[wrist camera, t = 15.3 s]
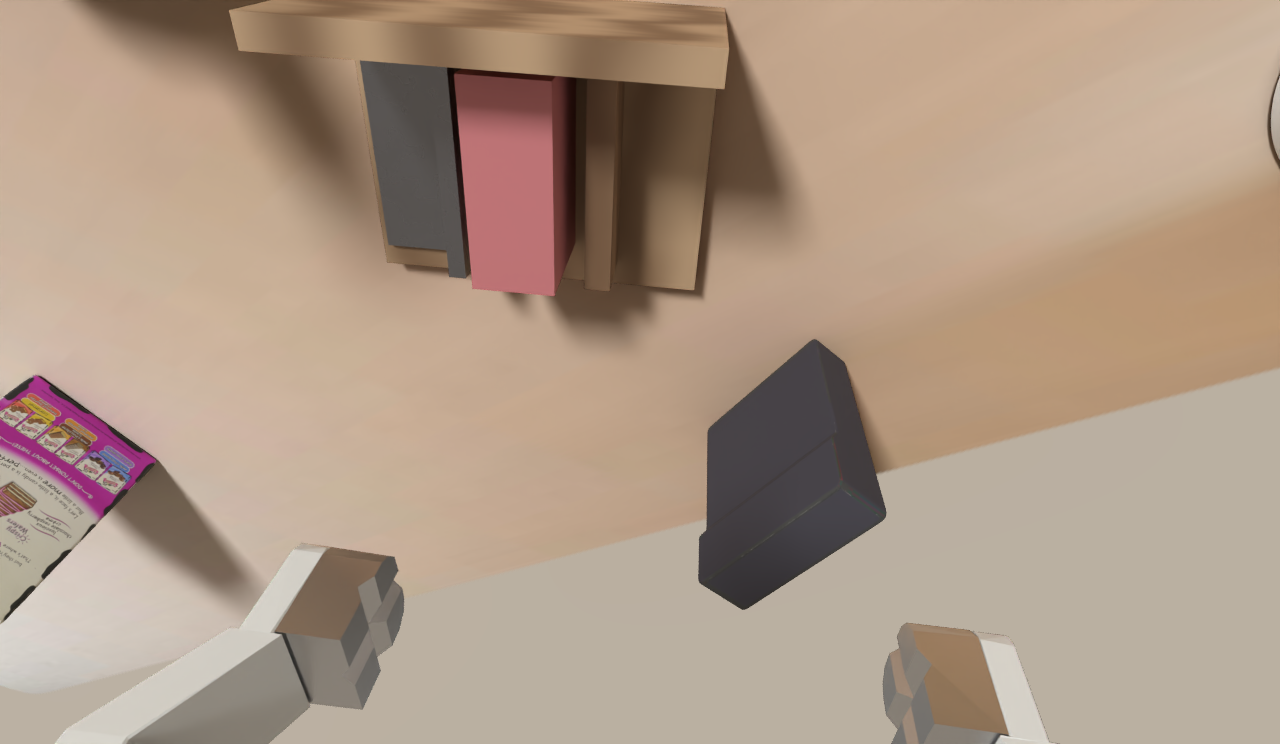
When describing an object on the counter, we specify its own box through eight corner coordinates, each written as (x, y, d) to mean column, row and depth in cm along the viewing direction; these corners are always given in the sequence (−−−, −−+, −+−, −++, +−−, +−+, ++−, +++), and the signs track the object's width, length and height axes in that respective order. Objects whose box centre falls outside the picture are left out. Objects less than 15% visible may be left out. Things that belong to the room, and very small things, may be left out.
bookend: (467, 24, 37) (443, 36, 34) (484, 250, 45) (466, 278, 41) (357, 15, 38) (322, 27, 34) (391, 241, 45) (365, 269, 42)
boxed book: (576, 53, 38) (551, 81, 32) (575, 243, 44) (554, 296, 38) (493, 46, 38) (454, 73, 32) (504, 237, 44) (472, 288, 38)
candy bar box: (9, 399, 58) (-207, 554, 44) (36, 371, 56) (-181, 523, 42) (132, 484, 62) (-30, 648, 49) (161, 461, 60) (1, 625, 47)
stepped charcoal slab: (742, 454, 54) (751, 619, 42) (700, 424, 53) (696, 585, 41) (852, 366, 49) (899, 525, 37) (809, 330, 48) (842, 483, 35)
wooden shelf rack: (725, 8, 37) (729, 48, 27) (694, 279, 46) (689, 384, 36) (354, -20, 38) (228, 10, 28) (395, 252, 47) (311, 348, 37)
